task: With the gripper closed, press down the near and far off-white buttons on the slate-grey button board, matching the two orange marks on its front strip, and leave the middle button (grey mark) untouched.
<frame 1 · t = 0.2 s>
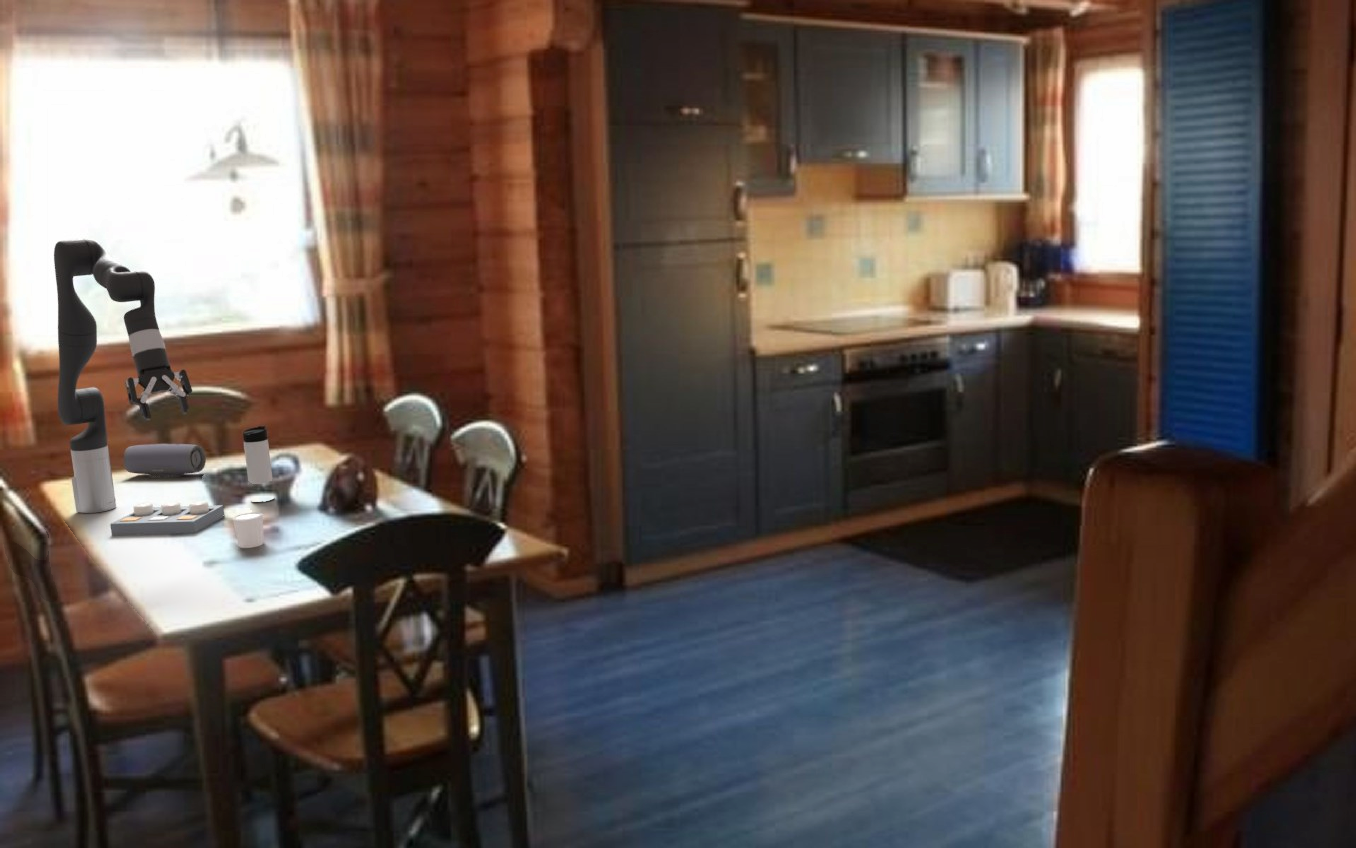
hand: (166, 416, 308), 31 cm above the table, tool tilted 20°, fingers open, 8 cm apart
white cup: (251, 545, 307), on the table
travel mug: (263, 500, 353), on the table
near button: (143, 511, 333), point 4 cm above the table, slide at 0.0 cm
far button: (199, 509, 331), point 4 cm above the table, slide at 0.0 cm
middle button: (171, 510, 332), point 4 cm above the table, slide at 0.0 cm
bluetooth speaker: (167, 476, 394), on the table
button board: (169, 525, 331), on the table
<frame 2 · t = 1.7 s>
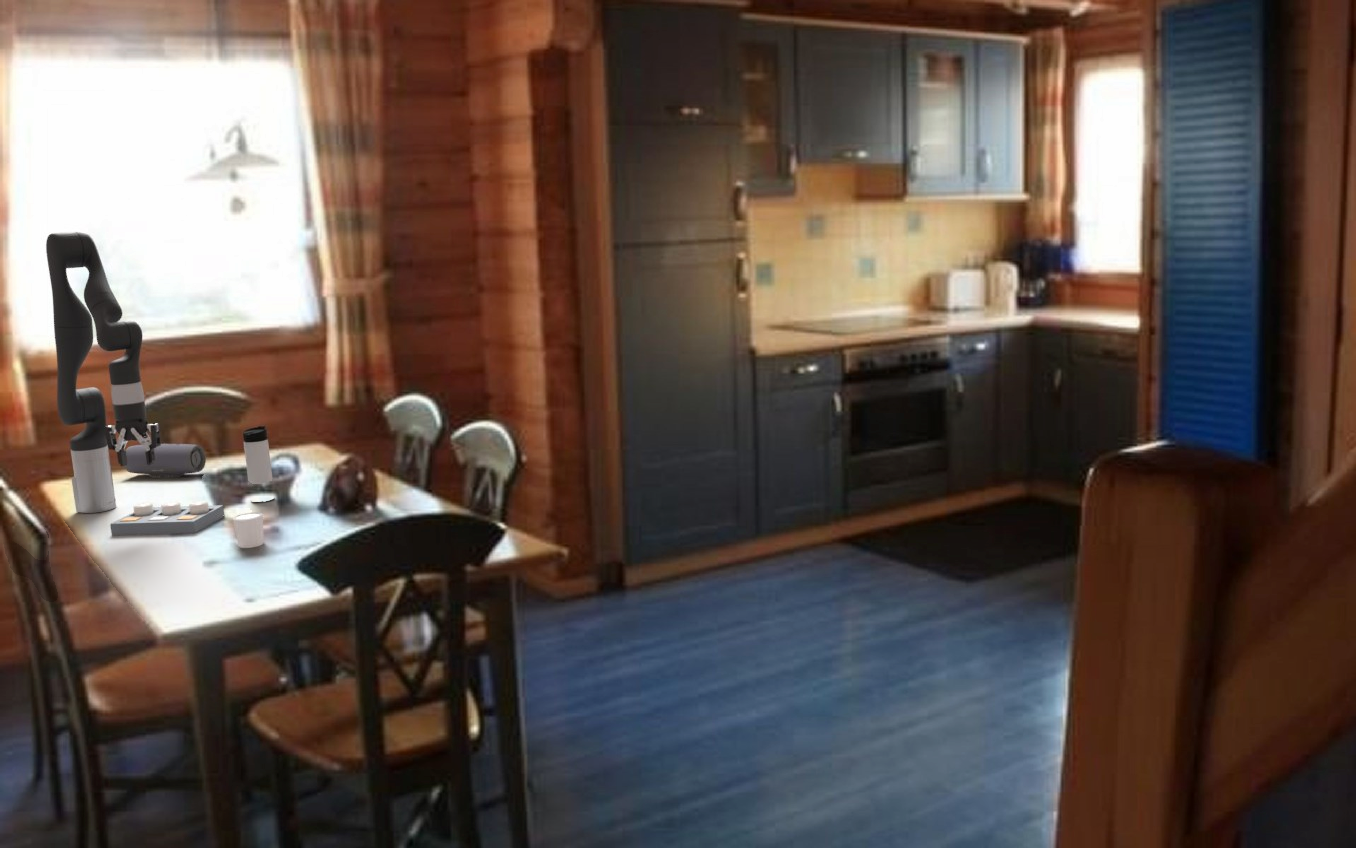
hand: (137, 464, 331), 16 cm above the table, tool pointing down, fingers open, 6 cm apart
nothing on the table moved.
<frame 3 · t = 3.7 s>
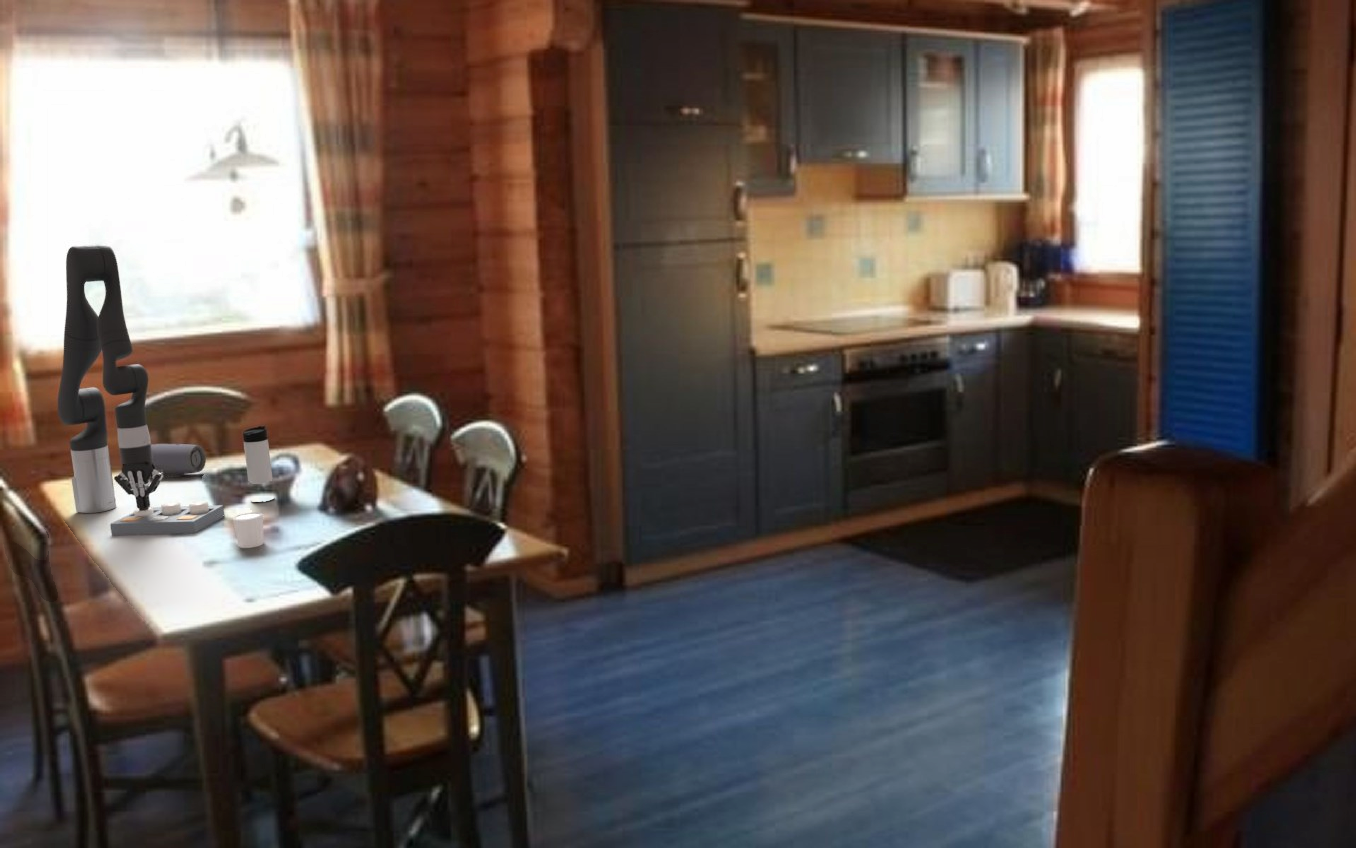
hand: (144, 509, 333), 4 cm above the table, tool pointing down, fingers closed
near button: (144, 515, 333), point 2 cm above the table, slide at 1.1 cm, touching gripper
everything else where it was.
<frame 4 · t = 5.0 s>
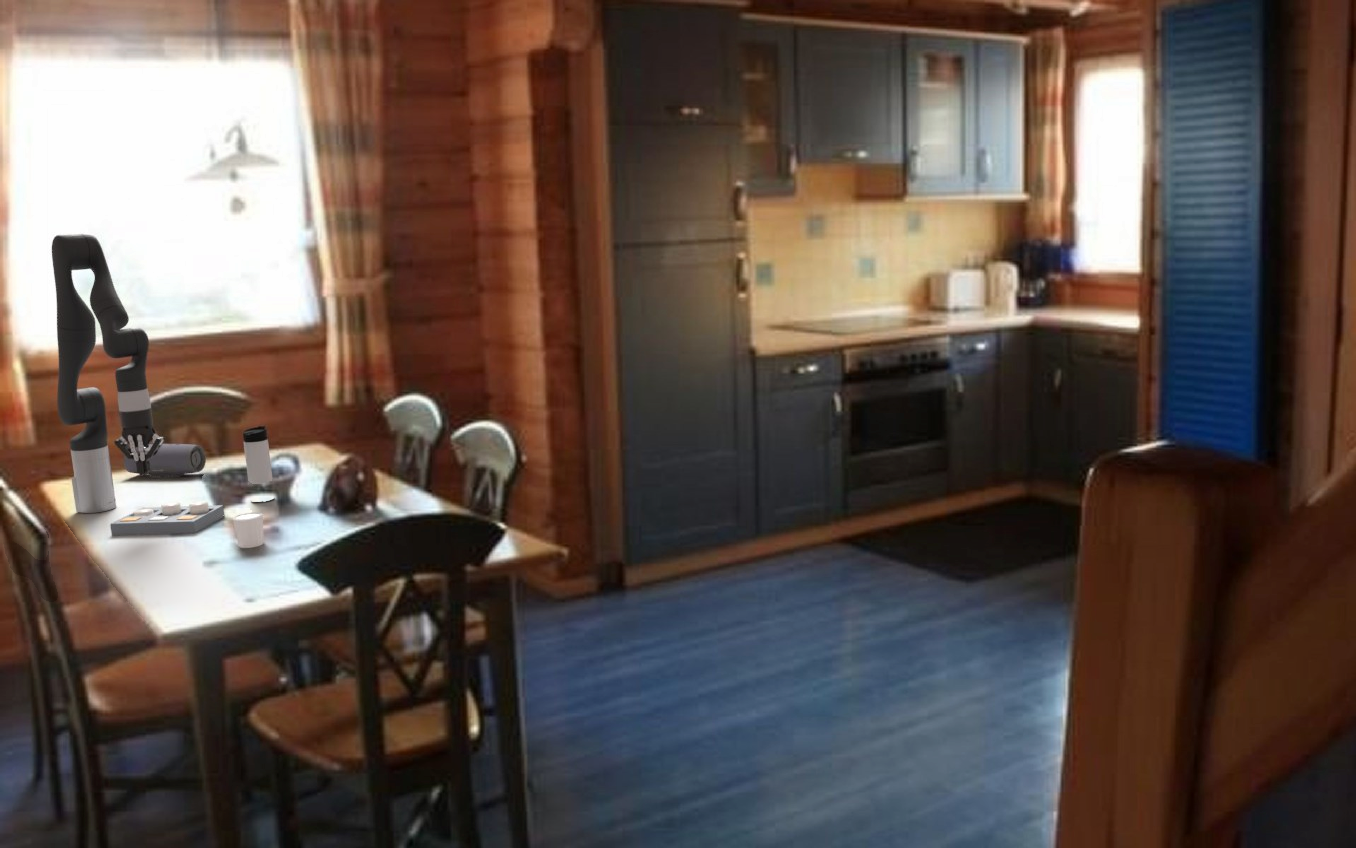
hand: (144, 474, 331), 13 cm above the table, tool pointing down, fingers closed
near button: (144, 516, 333), point 2 cm above the table, slide at 1.5 cm
everything else where it was.
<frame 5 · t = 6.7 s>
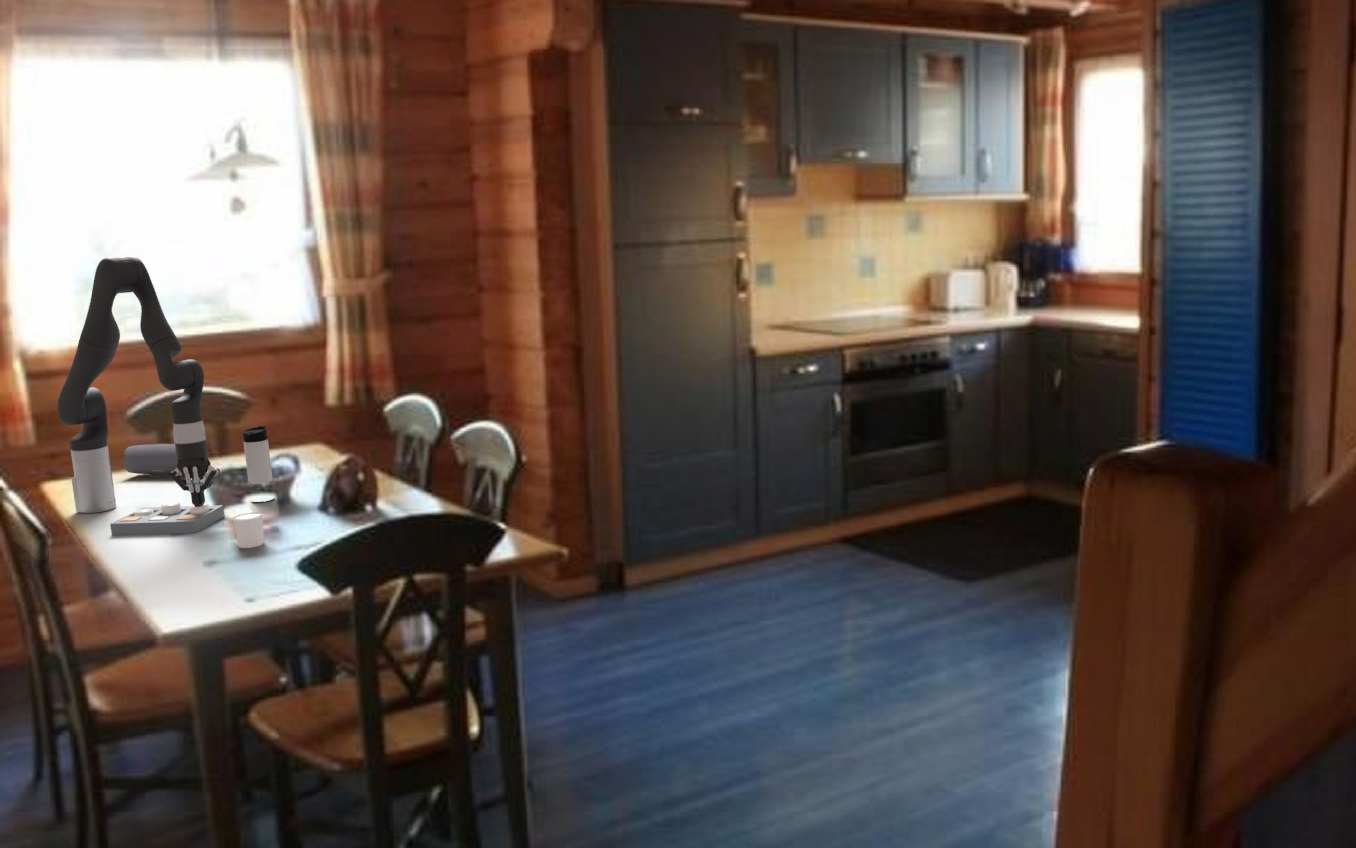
hand: (199, 506, 331), 4 cm above the table, tool pointing down, fingers closed
far button: (199, 511, 331), point 3 cm above the table, slide at 0.6 cm, touching gripper
everything else where it was.
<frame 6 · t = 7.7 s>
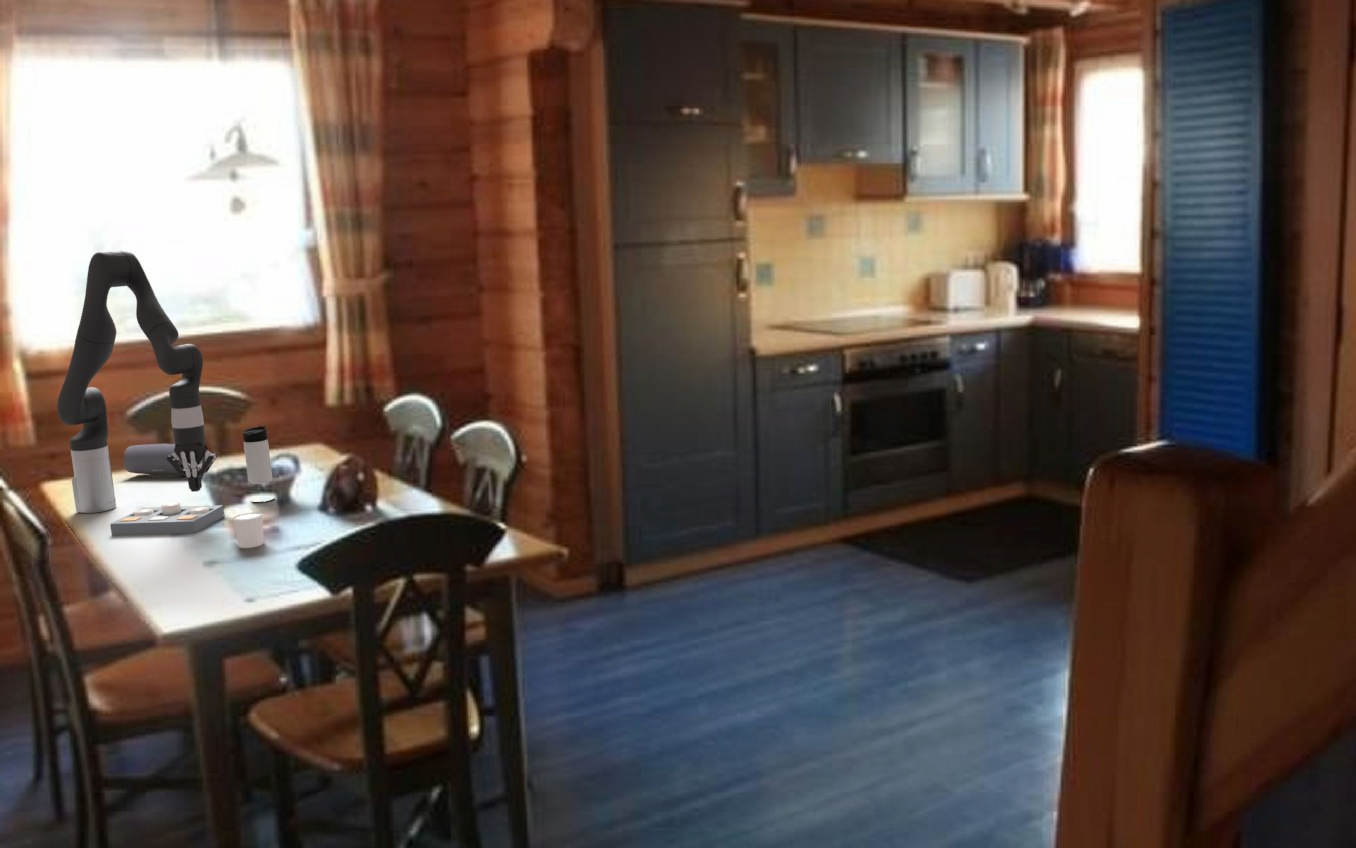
hand: (195, 490, 330), 8 cm above the table, tool pointing down, fingers closed
far button: (199, 515, 331), point 2 cm above the table, slide at 1.5 cm
everything else where it was.
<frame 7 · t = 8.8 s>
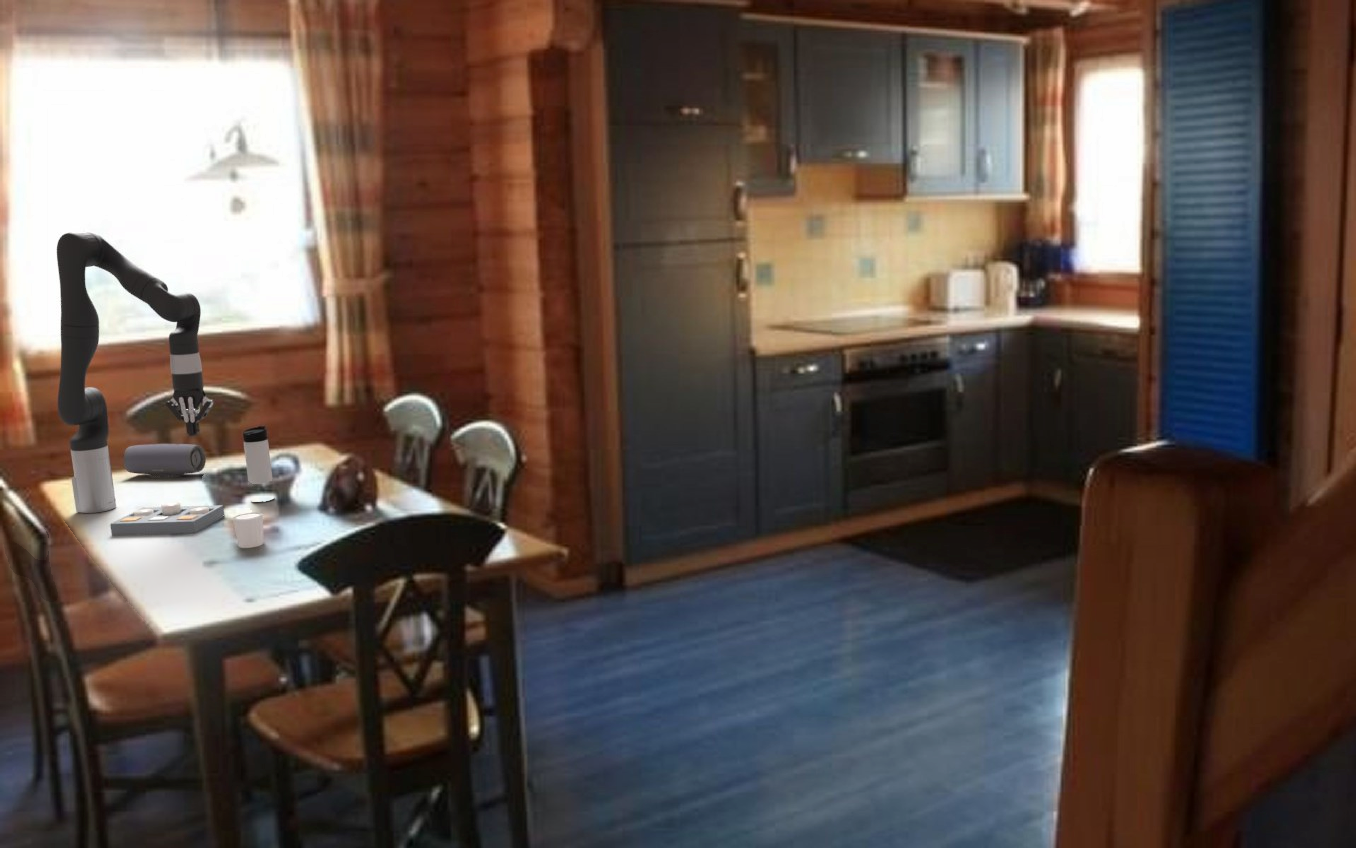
hand: (193, 435, 341), 20 cm above the table, tool pointing down, fingers closed
nothing on the table moved.
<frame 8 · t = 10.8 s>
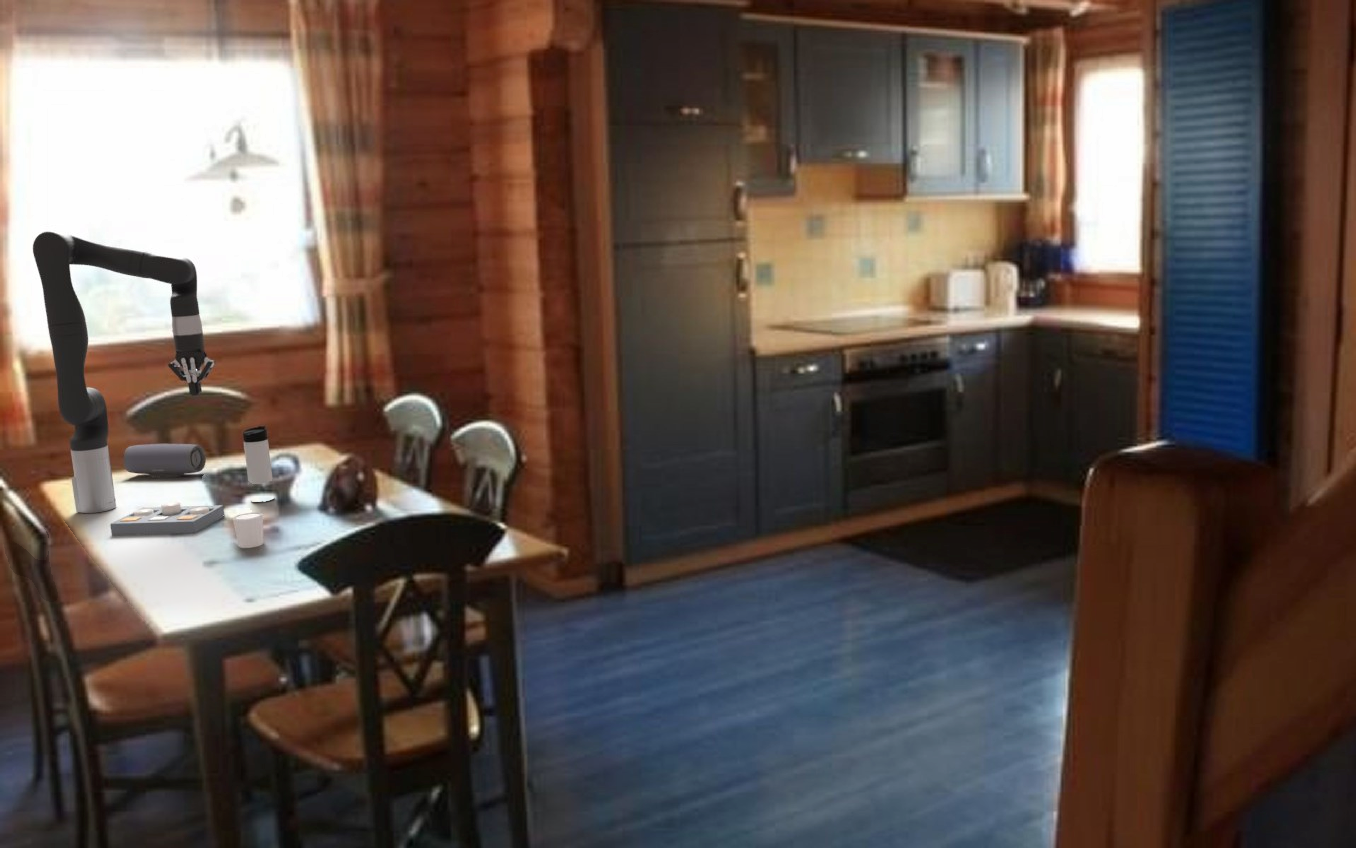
hand: (195, 395, 353), 29 cm above the table, tool pointing down, fingers closed
nothing on the table moved.
at the end: near button slide at 1.5 cm; far button slide at 1.5 cm; middle button slide at 0.0 cm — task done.
